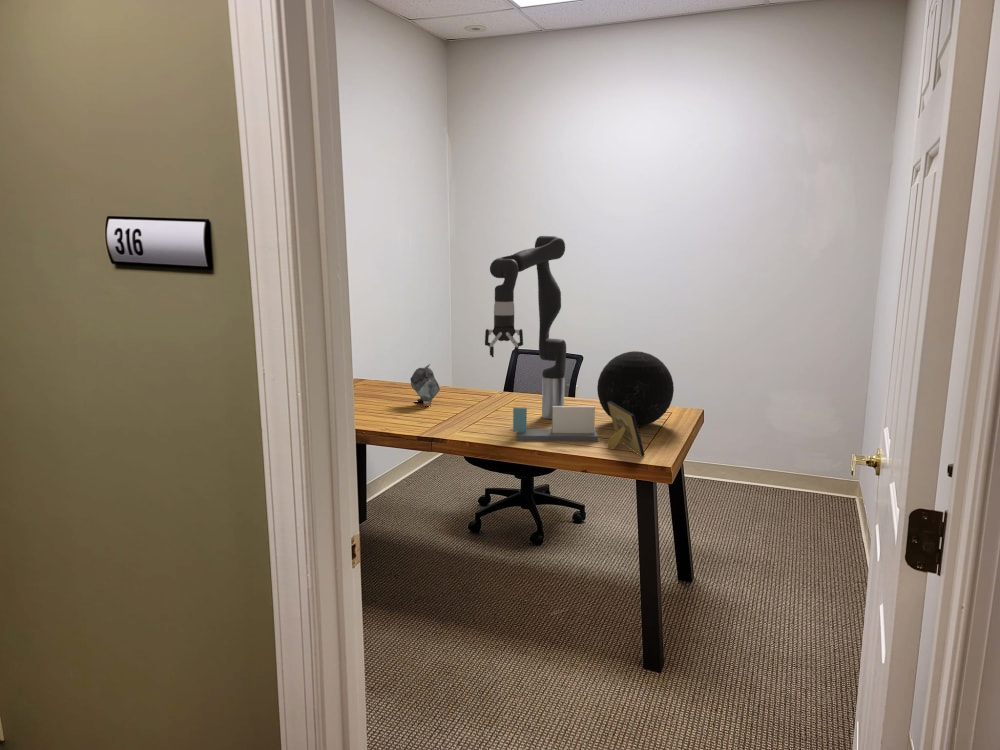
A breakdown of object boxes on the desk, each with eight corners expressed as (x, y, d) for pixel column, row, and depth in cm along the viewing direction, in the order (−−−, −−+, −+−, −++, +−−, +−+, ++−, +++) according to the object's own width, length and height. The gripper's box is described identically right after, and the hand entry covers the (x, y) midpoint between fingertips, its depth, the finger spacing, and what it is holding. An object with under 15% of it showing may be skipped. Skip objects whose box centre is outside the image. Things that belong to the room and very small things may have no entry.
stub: (513, 430, 265) (513, 407, 263) (526, 431, 264) (526, 407, 263) (513, 431, 263) (513, 408, 262) (526, 431, 263) (526, 408, 262)
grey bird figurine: (405, 408, 312) (404, 368, 309) (414, 401, 327) (413, 363, 324) (436, 409, 310) (435, 369, 307) (444, 402, 325) (443, 363, 322)
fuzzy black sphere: (682, 422, 287) (686, 350, 282) (655, 439, 262) (659, 359, 257) (614, 413, 303) (616, 344, 298) (583, 428, 278) (585, 353, 273)
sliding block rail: (516, 433, 269) (517, 403, 267) (595, 434, 268) (596, 403, 266) (516, 440, 259) (516, 409, 257) (598, 441, 259) (599, 409, 256)
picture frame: (645, 456, 240) (641, 413, 237) (620, 460, 239) (616, 418, 236) (620, 438, 262) (617, 399, 260) (597, 442, 261) (594, 403, 258)
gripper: (523, 312, 263) (523, 355, 266) (485, 312, 263) (485, 355, 266) (523, 314, 255) (523, 358, 258) (484, 314, 256) (484, 358, 259)
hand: (504, 356), depth 262 cm, fingers open, 8 cm apart
